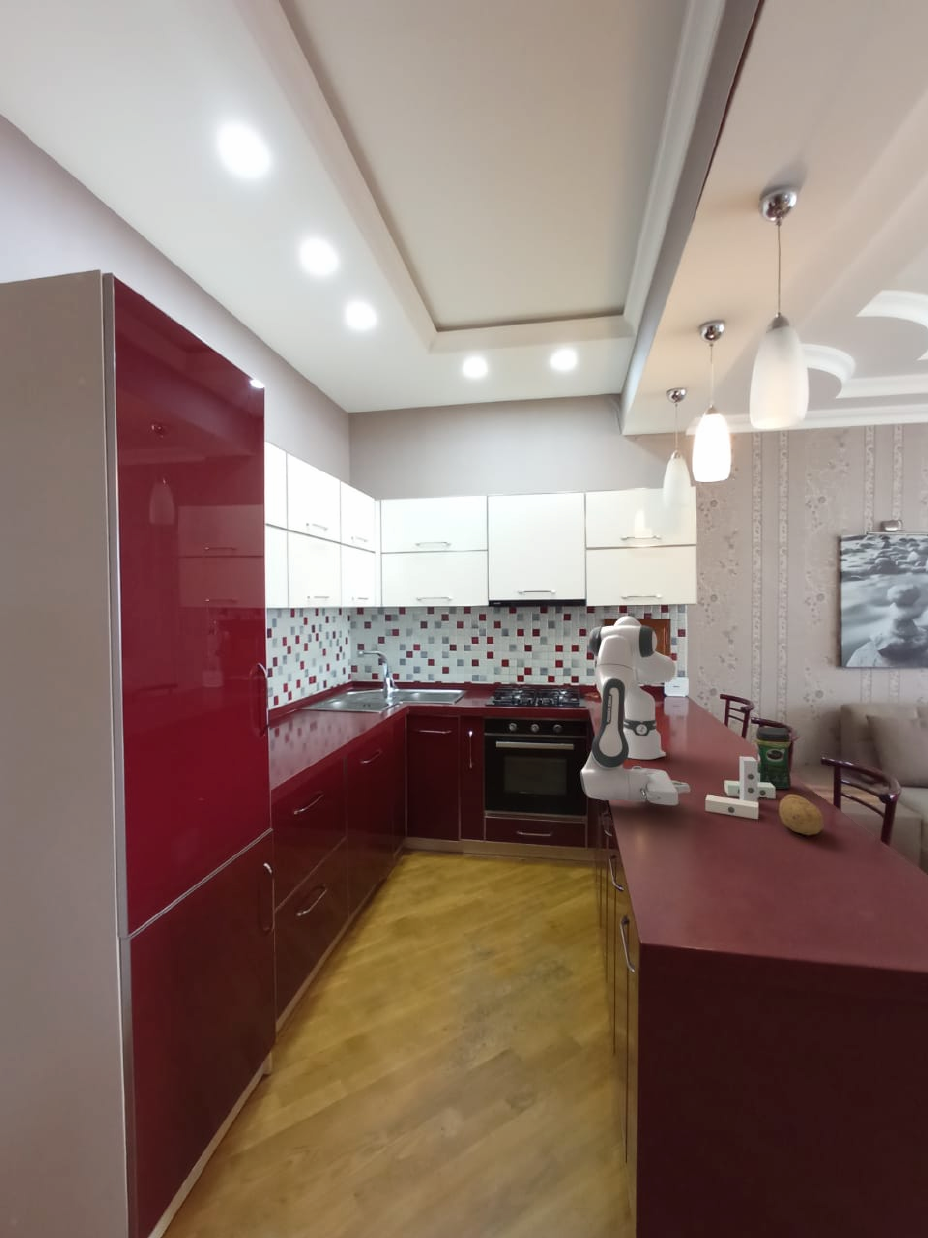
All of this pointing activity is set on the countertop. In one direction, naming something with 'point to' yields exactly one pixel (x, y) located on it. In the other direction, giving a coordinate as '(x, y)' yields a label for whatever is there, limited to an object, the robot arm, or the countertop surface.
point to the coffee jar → (773, 757)
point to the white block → (762, 789)
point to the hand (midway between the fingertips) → (689, 787)
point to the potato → (800, 815)
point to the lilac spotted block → (748, 779)
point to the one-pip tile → (731, 806)
